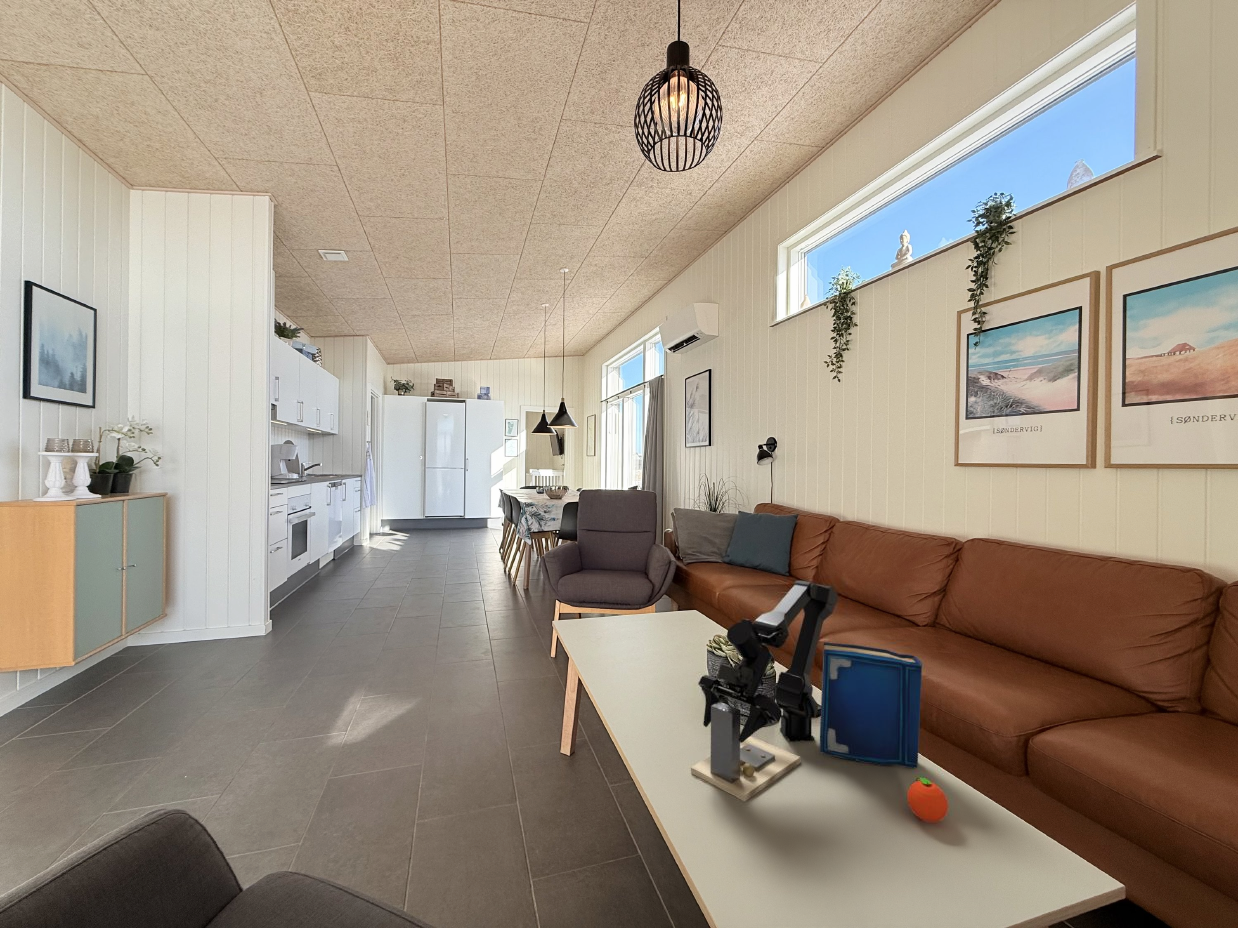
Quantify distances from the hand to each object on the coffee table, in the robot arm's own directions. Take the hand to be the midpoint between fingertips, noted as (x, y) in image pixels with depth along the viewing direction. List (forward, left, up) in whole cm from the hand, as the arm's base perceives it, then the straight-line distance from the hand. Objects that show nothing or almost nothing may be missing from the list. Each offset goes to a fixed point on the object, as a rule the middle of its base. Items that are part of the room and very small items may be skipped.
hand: (721, 733), depth 119 cm
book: (-38, -6, -11) cm, 40 cm away
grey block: (-2, -2, -9) cm, 10 cm away
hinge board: (-8, -5, -11) cm, 14 cm away
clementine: (-36, +16, -11) cm, 41 cm away
